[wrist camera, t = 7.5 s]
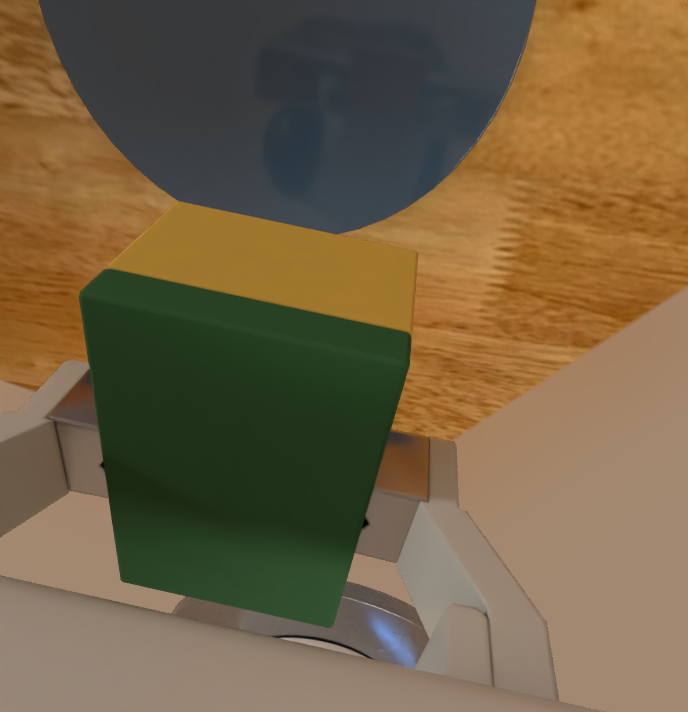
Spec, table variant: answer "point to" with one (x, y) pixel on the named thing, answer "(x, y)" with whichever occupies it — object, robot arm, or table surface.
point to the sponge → (246, 403)
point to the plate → (293, 96)
